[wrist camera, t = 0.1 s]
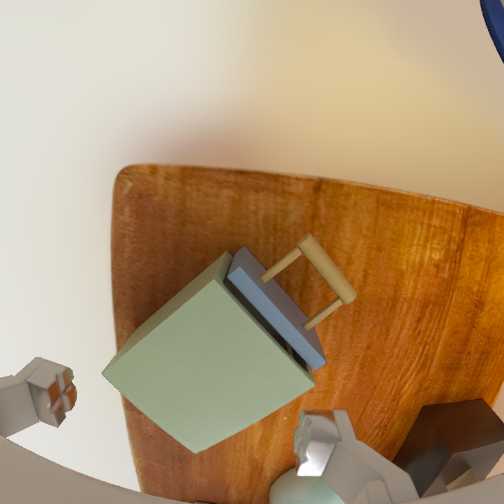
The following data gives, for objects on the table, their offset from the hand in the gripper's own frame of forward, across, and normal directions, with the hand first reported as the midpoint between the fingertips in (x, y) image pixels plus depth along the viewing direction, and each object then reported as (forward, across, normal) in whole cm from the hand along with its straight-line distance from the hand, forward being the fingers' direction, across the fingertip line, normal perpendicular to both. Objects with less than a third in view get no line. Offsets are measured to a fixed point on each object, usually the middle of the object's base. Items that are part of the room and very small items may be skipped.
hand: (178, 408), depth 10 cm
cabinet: (+22, +1, +8) cm, 23 cm away
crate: (+22, -33, +24) cm, 46 cm away
